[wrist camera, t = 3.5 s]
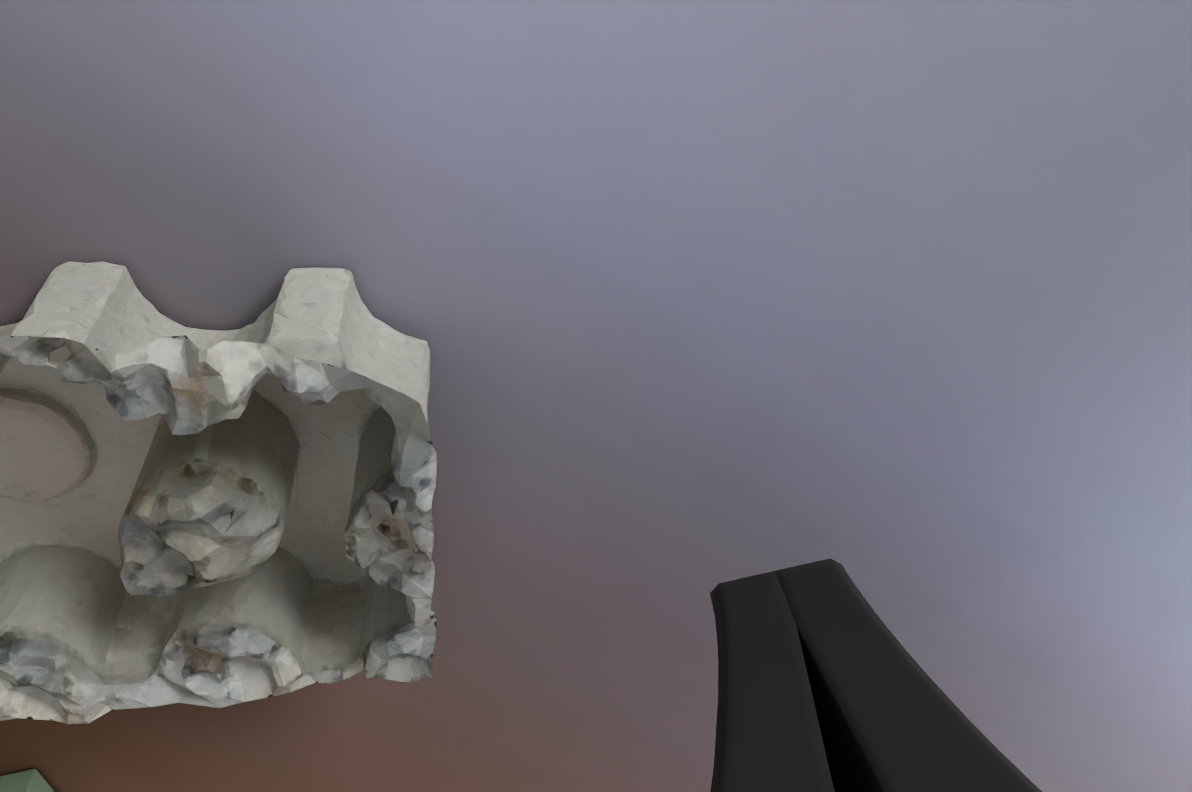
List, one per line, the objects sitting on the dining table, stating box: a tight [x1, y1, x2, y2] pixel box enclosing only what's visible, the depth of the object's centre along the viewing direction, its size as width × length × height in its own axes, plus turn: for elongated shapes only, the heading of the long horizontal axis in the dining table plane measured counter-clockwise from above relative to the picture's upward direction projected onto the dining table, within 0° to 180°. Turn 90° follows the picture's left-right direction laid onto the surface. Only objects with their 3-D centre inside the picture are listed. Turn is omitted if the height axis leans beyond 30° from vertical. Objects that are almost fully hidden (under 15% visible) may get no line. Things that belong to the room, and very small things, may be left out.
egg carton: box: [0, 261, 437, 724], centre depth 17 cm, size 11×8×4 cm
